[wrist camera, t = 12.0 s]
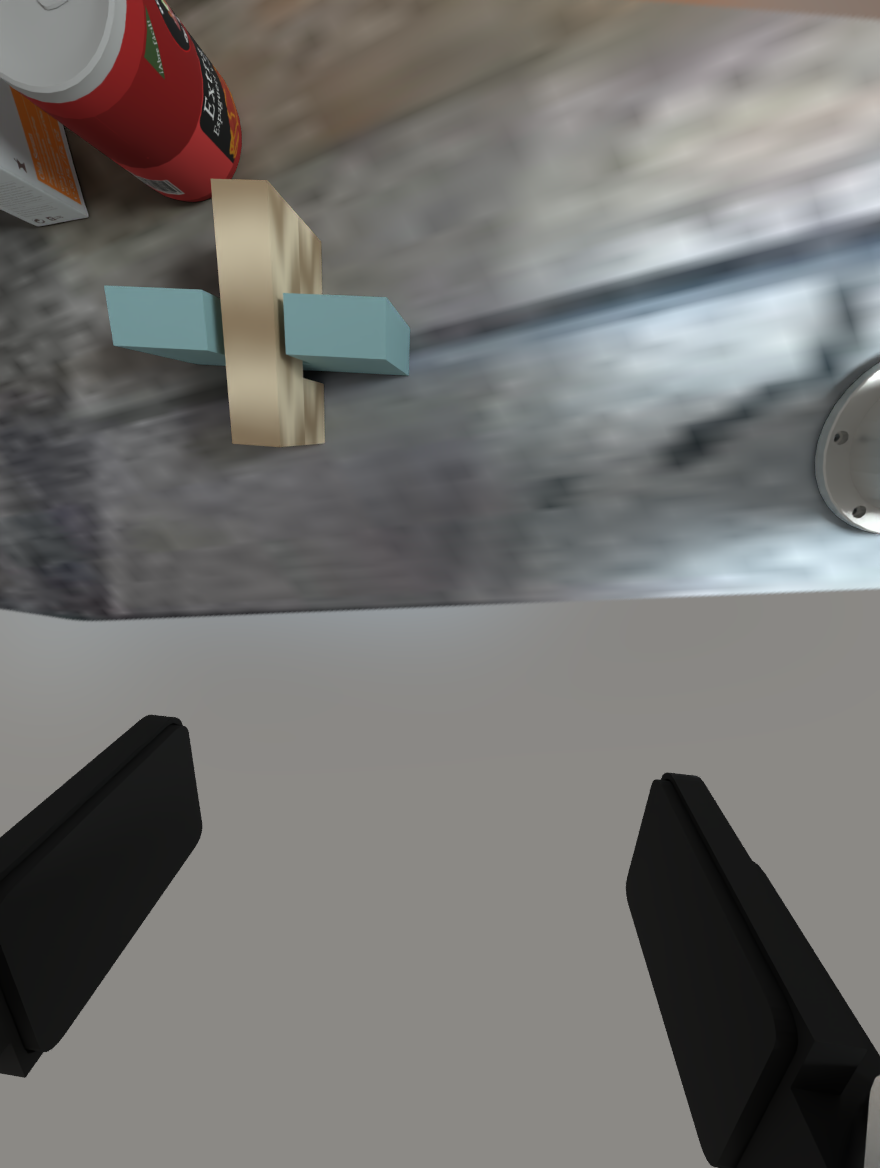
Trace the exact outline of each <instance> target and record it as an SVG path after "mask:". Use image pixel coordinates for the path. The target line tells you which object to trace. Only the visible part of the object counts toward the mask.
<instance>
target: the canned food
mask: <svg viewBox="0 0 880 1168" xmlns="http://www.w3.org/2000/svg"><path fill="white" fill-rule="evenodd" d="M0 78H2V79H3V80H4V81H5V82H6V83H7V84H9V85H10V86H11V87H12V88H13V89H15V90H16V91H18V92H19V93H20V94H22V95H23V96H24V97H26V98H27V99H29V100H30V101H31V102H32V103H33V104H35V105H36V106H38V107H39V108H40V109H42V110H43V111H45V112H46V113H47V114H49V115H50V116H52V117H53V118H54V119H56V120H57V121H59V122H60V123H61V124H63V125H64V126H66V127H67V128H68V129H70V130H71V131H73V132H74V133H75V134H77V135H78V136H80V137H81V138H82V139H84V140H85V141H87V142H88V143H89V144H91V145H92V146H94V147H95V148H96V149H98V150H99V151H101V152H102V153H103V154H105V155H106V156H108V157H109V158H110V159H112V160H113V161H115V162H116V163H117V164H119V165H120V166H122V167H123V168H124V169H126V170H127V171H129V172H130V173H131V174H133V175H134V176H136V177H137V178H138V179H140V180H141V181H143V182H144V183H145V184H147V185H148V186H150V187H151V188H152V189H154V190H156V191H157V192H159V193H161V194H162V195H164V196H167V197H170V198H173V199H176V200H181V201H188V202H198V201H204V200H207V199H209V198H211V197H212V190H211V179H231V178H232V177H233V175H234V173H235V171H236V168H237V165H238V162H239V159H240V153H241V147H242V134H241V126H240V120H239V116H238V113H237V110H236V107H235V104H234V101H233V98H232V95H231V93H230V91H229V89H228V87H227V85H226V83H225V81H224V79H223V78H222V77H221V75H220V74H219V73H218V71H217V70H216V69H215V67H214V66H213V65H212V63H211V62H210V61H209V59H208V58H207V56H206V55H205V54H204V52H203V51H202V50H201V48H200V47H199V46H198V44H197V43H196V42H195V40H194V39H193V38H192V36H191V35H190V34H189V32H188V31H187V30H186V28H185V27H184V25H183V24H182V23H181V21H180V20H179V19H178V17H177V16H176V15H175V13H174V12H173V11H172V9H171V8H170V7H169V5H168V4H167V3H166V1H165V0H0Z"/></svg>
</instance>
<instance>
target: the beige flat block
mask: <svg viewBox="0 0 880 1168" xmlns="http://www.w3.org/2000/svg"><path fill="white" fill-rule="evenodd" d="M211 190H212V202H213V214H214V226H215V238H216V250H217V263H218V275H219V287H220V299H221V311H222V323H223V336H224V348H225V360H226V372H227V384H228V396H229V409H230V421H231V433H232V444H244V445H258V446H271V447H288V446H300V445H311V444H323V443H325V424H324V384H323V383H319V382H315V381H312V380H308V379H305V378H303V361H302V360H300V359H297V358H294V357H292V356H289V355H286V347H285V326H284V305H283V293H295V294H319V295H322V260H321V241H320V240H319V239H318V238H317V237H316V235H315V234H314V233H313V232H312V231H311V230H310V229H309V227H308V226H307V225H306V224H305V223H304V222H303V221H302V219H301V218H300V217H299V216H298V215H297V214H296V213H295V211H294V210H293V209H292V208H291V207H290V206H289V205H288V203H287V202H286V201H285V200H284V199H283V198H282V197H281V195H280V194H279V193H278V192H277V191H276V190H275V189H274V187H273V186H272V185H271V184H270V183H269V182H268V181H267V180H239V179H211Z"/></svg>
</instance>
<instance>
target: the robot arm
mask: <svg viewBox="0 0 880 1168" xmlns="http://www.w3.org/2000/svg"><path fill="white" fill-rule="evenodd" d="M834 437H835V438H834ZM815 474H816V480H817V484H818V487H819V491H820V493H821V495H822V497H823V499H824V501H825V503H826V504H827V506H828V507H829V508H830V509H831V510H832V511H833V512H834V514H835V515H836V516H837V517H839V518H840V519H842V520H843V521H845V522H846V523H848V524H849V525H851V526H854V527H856V528H859V529H861V530H864V531H868V532H872V533H876V534H880V362H879V363H878V364H876V365H875V366H873V367H872V368H870V369H869V370H868V371H866V372H865V373H864V374H863V375H862V376H861V377H859V378H858V379H857V380H856V381H855V382H854V383H853V384H852V385H851V386H850V387H849V388H848V389H847V390H846V392H845V393H844V394H843V395H842V397H841V398H840V399H839V401H838V402H837V403H836V404H835V406H834V408H833V409H832V411H831V413H830V415H829V416H828V418H827V420H826V422H825V424H824V426H823V429H822V432H821V435H820V437H819V440H818V445H817V450H816V456H815ZM201 833H202V820H201V813H200V806H199V800H198V793H197V786H196V779H195V772H194V765H193V758H192V752H191V745H190V738H189V732H188V729H187V728H186V727H185V726H183V725H182V722H181V721H180V719H178V718H175V717H166V716H157V715H148V716H145V717H144V718H142V719H141V720H140V721H138V722H137V723H136V724H135V725H134V726H132V727H131V728H130V729H129V730H128V731H127V732H125V733H124V734H123V735H122V736H121V737H119V738H118V739H117V740H116V741H115V742H113V743H112V744H111V745H110V746H109V747H108V748H106V749H105V750H104V751H103V752H102V753H100V754H99V755H98V756H97V757H96V758H95V759H93V760H92V761H91V762H90V763H88V764H87V765H86V766H85V767H84V768H83V769H81V770H80V771H79V772H78V773H77V774H75V775H74V776H73V777H72V778H71V779H69V780H68V781H67V782H66V783H65V784H63V786H61V787H60V788H59V789H57V790H56V791H55V792H54V793H53V794H52V795H50V796H49V797H48V798H47V799H46V800H44V801H43V802H42V803H41V804H40V805H38V806H37V807H36V808H35V809H34V810H33V811H31V812H30V813H29V814H28V815H27V816H25V817H24V818H23V819H22V820H21V821H19V822H18V823H17V824H16V825H15V826H13V827H12V828H11V829H10V830H9V831H7V832H6V833H5V834H4V835H3V836H2V837H0V1073H2V1074H7V1075H14V1076H19V1077H24V1078H25V1077H26V1076H27V1075H28V1073H29V1072H30V1070H31V1069H32V1067H33V1066H34V1065H35V1063H36V1062H37V1060H38V1059H39V1058H40V1056H41V1055H42V1053H43V1052H47V1051H49V1050H51V1049H52V1048H53V1047H54V1046H55V1045H57V1043H58V1042H59V1041H60V1040H61V1039H62V1037H63V1036H64V1035H65V1033H66V1032H67V1030H68V1029H69V1027H70V1026H71V1025H72V1023H73V1022H74V1020H75V1019H76V1018H77V1016H78V1015H79V1013H80V1011H81V1010H82V1009H83V1007H84V1006H85V1005H86V1003H87V1002H88V1000H89V999H90V997H91V996H92V995H93V993H94V992H95V990H96V989H97V987H98V986H99V985H100V983H101V981H102V980H103V979H104V977H105V976H106V974H107V973H108V972H109V970H110V969H111V967H112V966H113V964H114V963H115V962H116V960H117V959H118V957H119V956H120V954H121V953H122V951H123V950H124V949H125V947H126V946H127V944H128V943H129V941H130V940H131V939H132V937H133V936H134V934H135V933H136V931H137V930H138V928H139V927H140V926H141V924H142V923H143V921H144V920H145V918H146V917H147V915H148V914H149V913H150V911H151V910H152V908H153V907H154V906H155V904H156V902H157V901H158V900H159V898H160V897H161V895H162V894H163V892H164V891H165V890H166V888H167V887H168V885H169V884H170V883H171V881H172V879H173V878H174V877H175V875H176V874H177V872H178V871H179V870H180V868H181V867H182V865H183V864H184V862H185V861H186V860H187V858H188V856H189V855H190V854H191V852H192V851H193V849H194V848H195V846H196V845H197V843H198V841H199V839H200V836H201ZM626 895H627V901H628V905H629V908H630V911H631V915H632V918H633V921H634V925H635V928H636V931H637V935H638V938H639V941H640V945H641V948H642V951H643V955H644V958H645V961H646V965H647V968H648V971H649V975H650V978H651V981H652V985H653V988H654V991H655V994H656V998H657V1001H658V1004H659V1008H660V1011H661V1014H662V1018H663V1021H664V1025H665V1028H666V1031H667V1035H668V1038H669V1041H670V1045H671V1048H672V1051H673V1055H674V1058H675V1061H676V1065H677V1068H678V1071H679V1075H680V1078H681V1081H682V1085H683V1088H684V1091H685V1095H686V1098H687V1101H688V1105H689V1108H690V1111H691V1114H692V1118H693V1121H694V1125H695V1128H696V1131H697V1135H698V1138H699V1141H700V1144H701V1147H702V1150H703V1153H704V1155H705V1157H706V1159H707V1161H708V1162H709V1163H710V1165H711V1166H713V1167H718V1168H880V1056H879V1054H878V1052H877V1051H876V1049H875V1047H874V1046H873V1044H872V1043H871V1041H870V1039H869V1038H868V1036H867V1035H866V1033H865V1032H864V1030H863V1028H862V1027H861V1025H860V1024H859V1022H858V1020H857V1019H856V1017H855V1016H854V1014H853V1013H852V1011H851V1009H850V1008H849V1006H848V1005H847V1003H846V1002H845V1000H844V998H843V997H842V995H841V993H840V992H839V990H838V989H837V987H836V986H835V984H834V982H833V981H832V979H831V978H830V976H829V974H828V973H827V971H826V970H825V968H824V966H823V965H822V963H821V962H820V960H819V958H818V957H817V955H816V954H815V952H814V950H813V949H812V947H811V946H810V944H809V943H808V941H807V939H806V938H805V936H804V935H803V933H802V931H801V930H800V928H799V927H798V925H797V923H796V922H795V920H794V919H793V917H792V916H791V914H790V912H789V911H788V909H787V908H786V906H785V904H784V903H783V901H782V900H781V898H780V897H779V895H778V893H777V892H776V890H775V888H774V887H773V885H772V884H771V882H770V881H769V879H768V877H767V876H766V874H765V873H764V872H763V870H762V869H761V868H760V867H759V865H758V864H756V863H755V862H753V861H752V860H751V858H750V857H749V855H748V853H747V852H746V850H745V848H744V847H743V846H742V844H741V842H740V840H739V839H738V837H737V836H736V834H735V832H734V831H733V829H732V827H731V826H730V825H729V823H728V821H727V819H726V818H725V816H724V815H723V813H722V811H721V810H720V808H719V806H718V805H717V803H716V801H715V800H714V798H713V797H712V795H711V793H710V792H709V790H708V789H707V787H706V785H705V784H704V782H703V781H702V780H701V778H699V777H697V776H693V775H684V774H675V773H665V774H664V775H663V776H662V778H661V780H654V781H653V783H652V785H651V789H650V794H649V797H648V801H647V804H646V808H645V812H644V816H643V819H642V823H641V827H640V831H639V835H638V839H637V842H636V846H635V850H634V854H633V857H632V861H631V865H630V869H629V873H628V876H627V882H626Z"/></svg>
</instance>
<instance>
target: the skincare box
mask: <svg viewBox="0 0 880 1168" xmlns="http://www.w3.org/2000/svg"><path fill="white" fill-rule="evenodd" d="M0 210H3V211H5V212H7V213H9V214H11V215H13V216H15V217H18V218H20V219H22V220H24V221H26V222H28V223H30V224H33V225H35V226H45V225H50V224H55V223H60V222H66V221H71V220H77V219H83V218H87V217H88V216H89V215H88V212H87V209H86V206H85V203H84V200H83V196H82V192H81V188H80V185H79V182H78V178H77V175H76V172H75V168H74V165H73V161H72V157H71V153H70V150H69V146H68V142H67V138H66V135H65V131H64V127H63V124H61V123H60V122H59V121H57V120H56V119H54V118H53V117H52V116H50V115H49V114H47V113H46V112H45V111H43V110H42V109H40V108H39V107H38V106H36V105H35V104H33V103H32V102H31V101H30V100H29V99H27V98H26V97H24V96H23V95H22V94H20V93H19V92H18V91H16V90H15V89H13V88H12V87H11V86H10V85H9V84H7V83H6V82H5V81H4V80H3V79H2V78H0Z"/></svg>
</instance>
